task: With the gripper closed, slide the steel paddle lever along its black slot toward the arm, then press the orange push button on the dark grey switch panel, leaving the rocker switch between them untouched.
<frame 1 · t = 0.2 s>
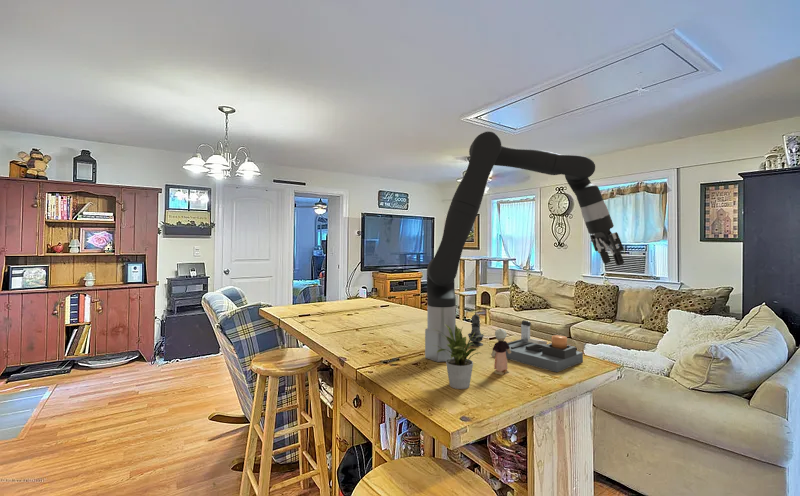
hand: (613, 263, 122), 31 cm above the table, tool tilted 20°, fingers open, 8 cm apart
control panel: (537, 358, 122), on the table
grandmother figurine: (500, 373, 108), on the table
push button: (559, 341, 116), point 7 cm above the table, slide at 0.0 cm
house plant: (454, 384, 99), on the table
rocker switch: (537, 341, 122), point 5 cm above the table, hinge at 12.0°
dark grey ornate statuette: (475, 344, 140), on the table
slide lever: (525, 331, 131), point 7 cm above the table, slide at 0.0 cm
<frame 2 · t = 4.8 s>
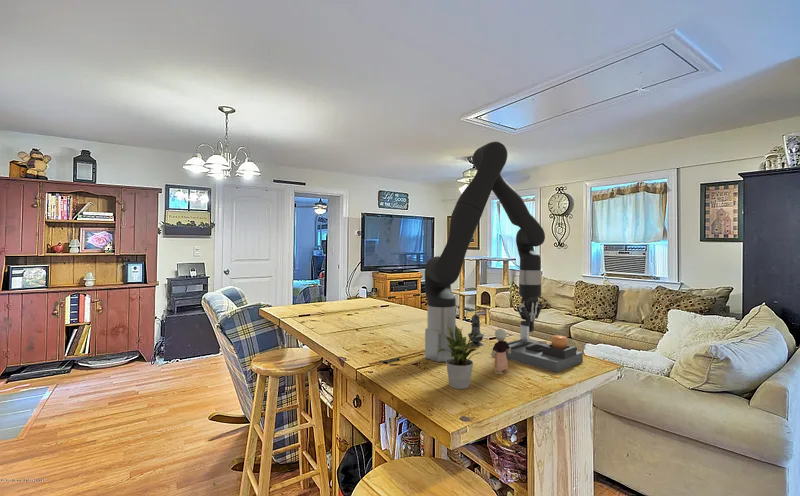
hand: (529, 331, 133), 6 cm above the table, tool pointing down, fingers closed
slide lever: (524, 331, 131), point 7 cm above the table, slide at 0.6 cm, touching gripper
everything else where it was.
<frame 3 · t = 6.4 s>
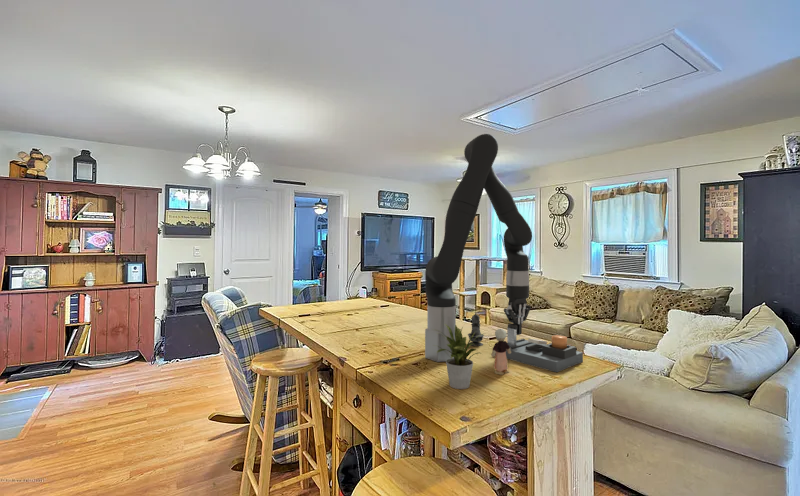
hand: (517, 334, 128), 6 cm above the table, tool pointing down, fingers closed
slide lever: (511, 334, 126), point 7 cm above the table, slide at 8.1 cm, touching gripper
everything else where it was.
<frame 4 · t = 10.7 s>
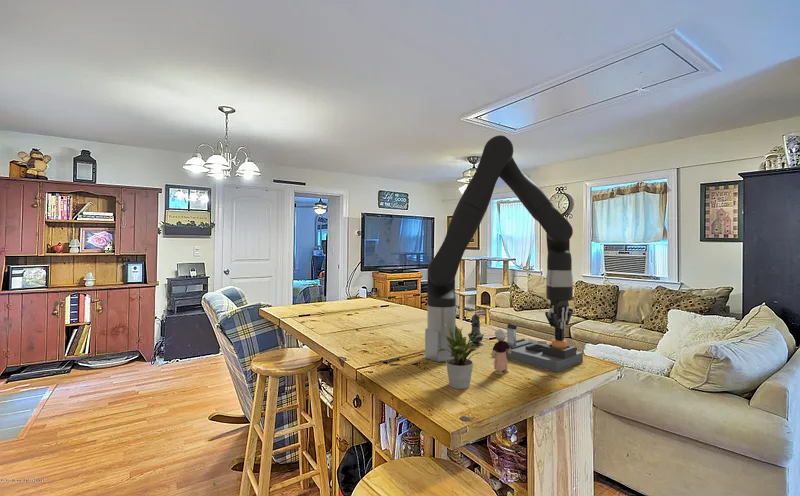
hand: (559, 340, 116), 7 cm above the table, tool pointing down, fingers closed
push button: (559, 345, 116), point 6 cm above the table, slide at 1.0 cm, touching gripper
slide lever: (511, 334, 126), point 7 cm above the table, slide at 8.3 cm
everything else where it was.
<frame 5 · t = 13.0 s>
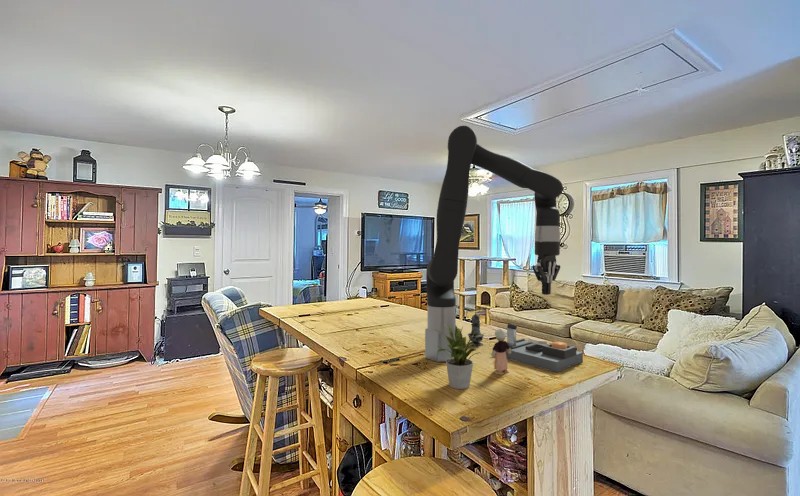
hand: (546, 294, 120), 21 cm above the table, tool pointing down, fingers closed
push button: (559, 348, 116), point 5 cm above the table, slide at 2.0 cm
everything else where it was.
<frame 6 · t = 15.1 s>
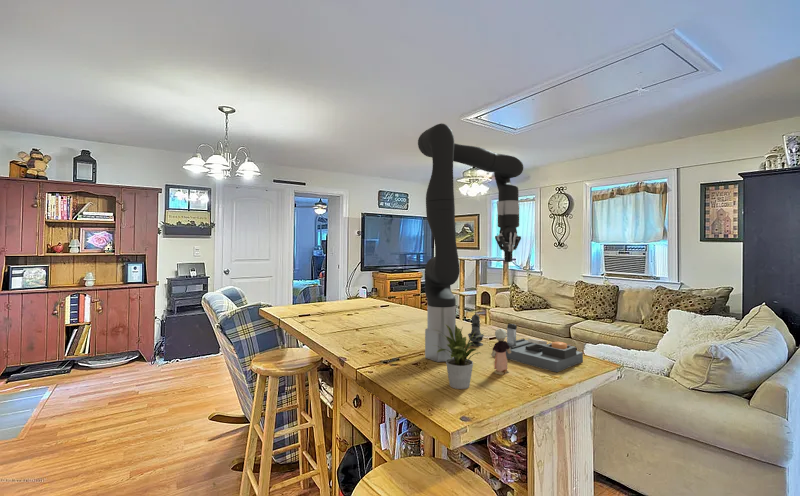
hand: (508, 261, 135), 31 cm above the table, tool pointing down, fingers closed
nothing on the table moved.
at the end: slide lever slide at 8.3 cm; push button slide at 2.0 cm; rocker switch at +12° (first picture: +12°) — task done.
